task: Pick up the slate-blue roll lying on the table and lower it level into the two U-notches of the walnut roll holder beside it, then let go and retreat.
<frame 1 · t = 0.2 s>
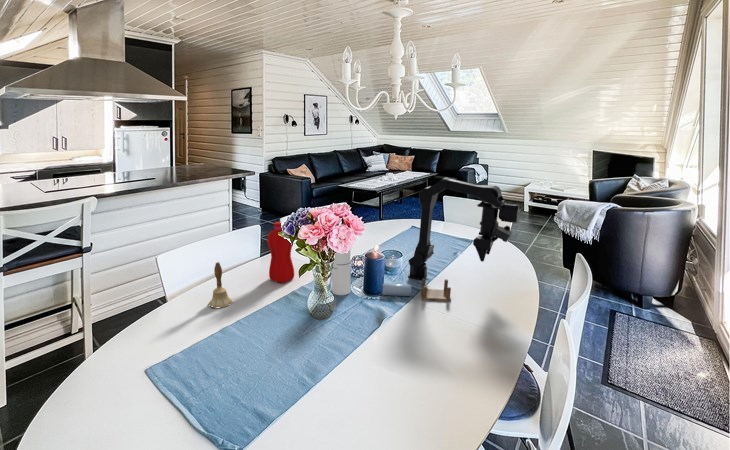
hand: (484, 257, 151), 15 cm above the table, tool pointing down, fingers open, 9 cm apart
cylindrical container: (341, 291, 153), on the table
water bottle: (283, 278, 165), on the table
roll holder: (435, 296, 150), on the table
roll: (396, 295, 151), on the table
hand bell: (220, 303, 142), on the table
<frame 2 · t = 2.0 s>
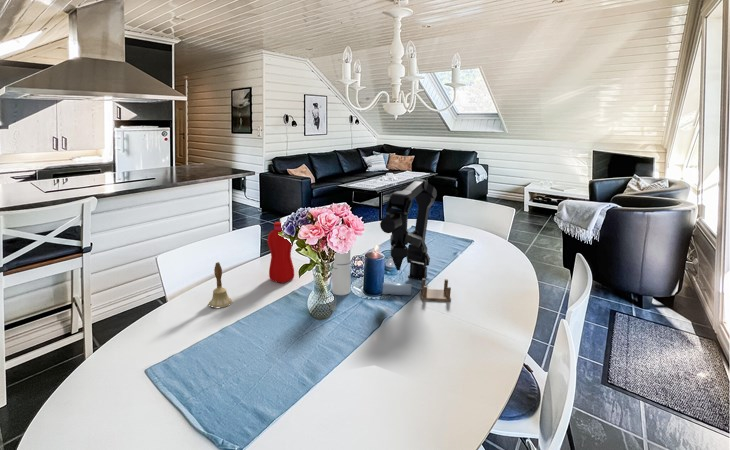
hand: (398, 265, 148), 12 cm above the table, tool pointing down, fingers open, 9 cm apart
roll: (396, 294, 151), on the table, tilted 18°
everything else where it was.
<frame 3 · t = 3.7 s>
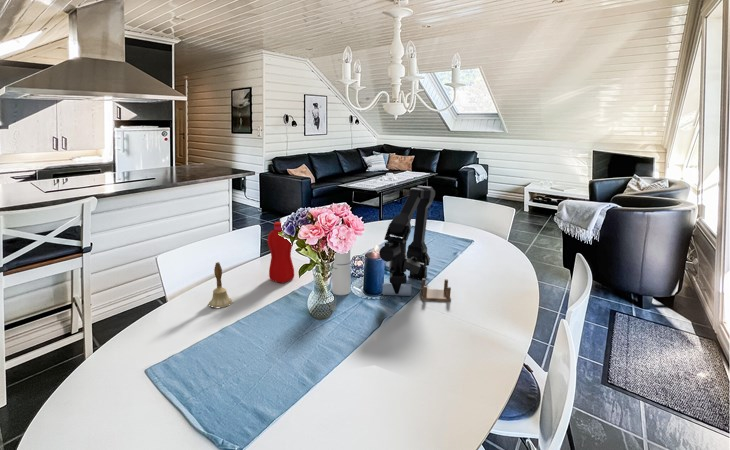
hand: (396, 291, 151), 2 cm above the table, tool pointing down, fingers closed on roll, 4 cm apart
roll: (396, 294, 151), on the table, touching gripper
everything else where it was.
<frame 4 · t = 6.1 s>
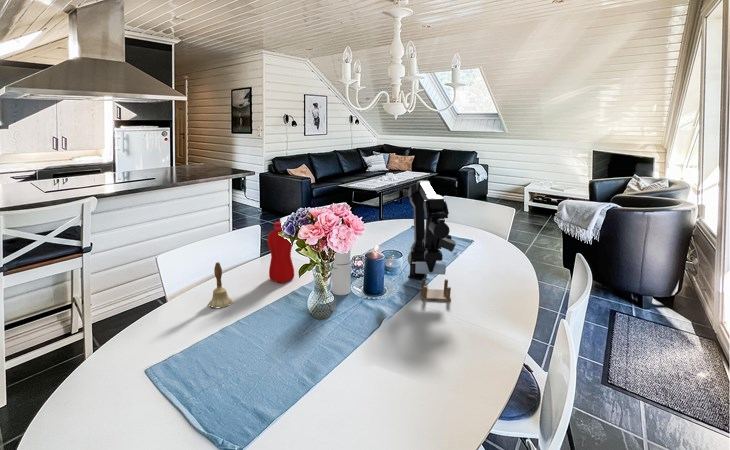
hand: (430, 269, 147), 11 cm above the table, tool pointing down, fingers closed on roll, 4 cm apart
roll: (430, 273, 148), point 9 cm above the table, touching gripper
everything else where it was.
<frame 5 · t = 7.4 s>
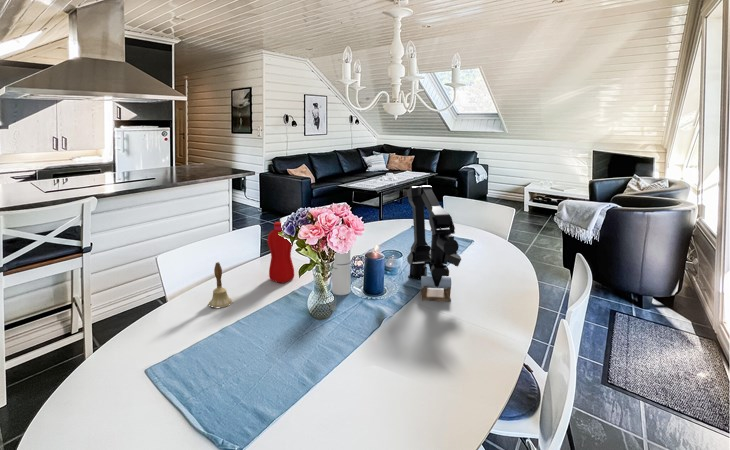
hand: (436, 284, 149), 5 cm above the table, tool pointing down, fingers closed on roll, 4 cm apart
roll: (435, 287, 149), point 4 cm above the table, touching gripper
everything else where it was.
when the fingers open (5 cm above the table, at t = 8.2 s): roll drops 1 cm, resting on roll holder.
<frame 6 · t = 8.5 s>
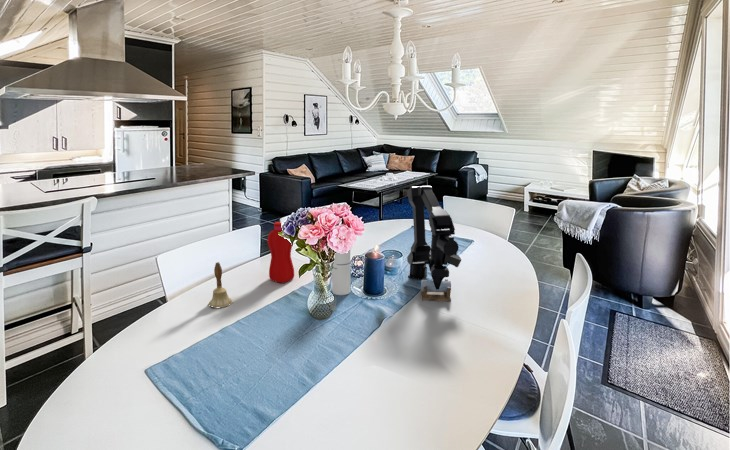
hand: (436, 284, 149), 5 cm above the table, tool pointing down, fingers open, 8 cm apart
roll: (435, 291, 150), point 2 cm above the table, touching roll holder
everything else where it was.
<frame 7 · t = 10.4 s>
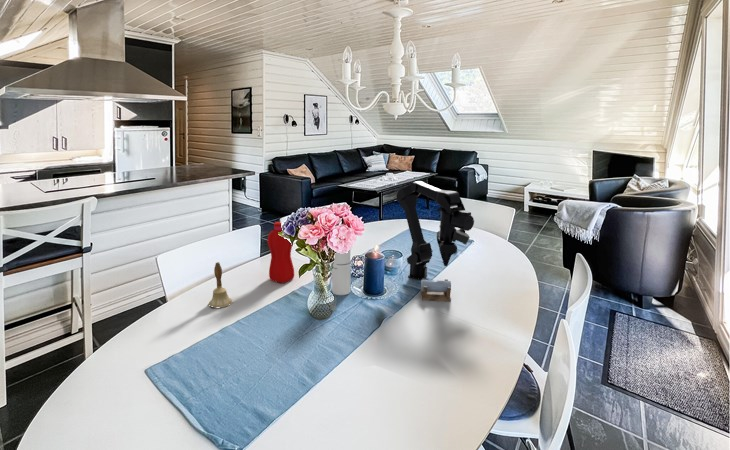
hand: (444, 261, 153), 12 cm above the table, tool pointing down, fingers open, 9 cm apart
nothing on the table moved.
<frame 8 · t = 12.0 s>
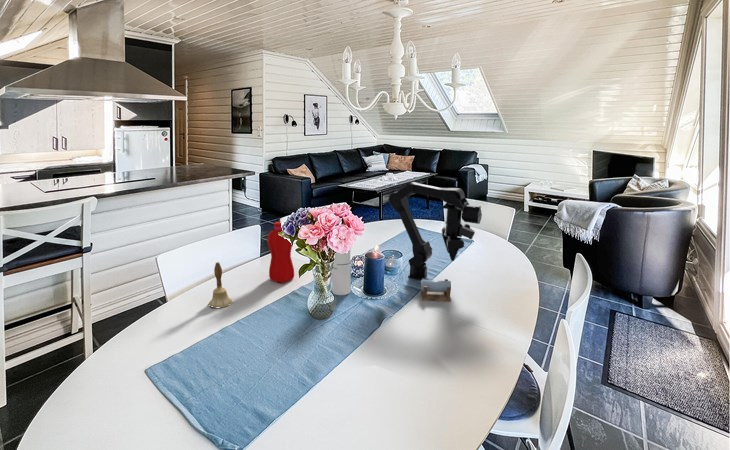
hand: (450, 256, 159), 12 cm above the table, tool pointing down, fingers open, 9 cm apart
nothing on the table moved.
at the end: roll 0.1 cm off-centre on the roll holder, point 2.0 cm above the roll holder's base; roll tilted 0°; the gripper is holding nothing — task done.
